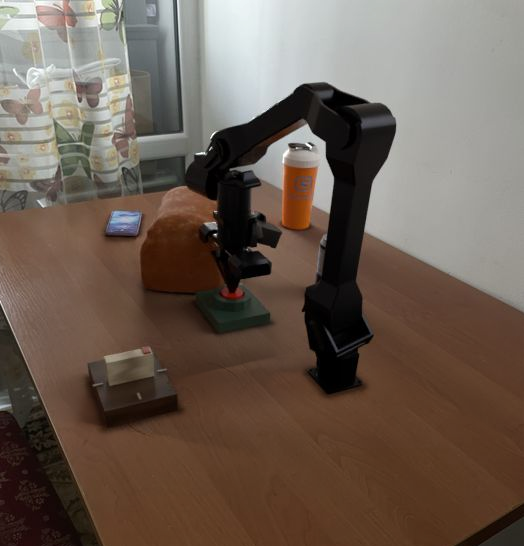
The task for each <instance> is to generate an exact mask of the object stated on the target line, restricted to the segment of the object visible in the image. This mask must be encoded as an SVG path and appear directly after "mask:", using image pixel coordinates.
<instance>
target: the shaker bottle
mask: <svg viewBox="0 0 524 546" xmlns="http://www.w3.org/2000/svg"><path fill="white" fill-rule="evenodd" d="M287 147H288V149H287V150H285V151H284V153H283V154H282V164H283V167H282V169H283V175H282V209H281V210H282V211H281V213H282V214H281V224H282V226H283V227H285V228H287V229H290V230H305V229H308V228H309V227H310V223H311V218H312V217H311V216H312V210H313V202H314V196H315V190H316V183H317V176H318V170H319V166H320V161H321V156H320V154H319V150H320V149H319V147H318V145H316V144H314V143H313V142H311V141H308V142H306V143H302V142H289V143H287Z"/></svg>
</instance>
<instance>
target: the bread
mask: <svg viewBox="0 0 524 546" xmlns="http://www.w3.org/2000/svg"><path fill="white" fill-rule="evenodd" d="M213 211H217V201H212V200H210V199H208V198H206V197H203V196H201V195H199V194H197V193H195V192H193V191H191V190H189V189H188V187H187V186H186V185H182V186H177V187H174V188H171V189H170V190H169V191H167V193H166V194H164V196H163V197H162V198H161V205H160V206H159V207H158V210H157V212H156V213H155V214H154V216H153V219H152V223H151V224H150V225H149V227H148V229H147V231H146V236H145V239H144V241H143V242H142V244H141V247H140V250H139V267H140V275H141V276H140V277H141V284H142V285H143V286H144V287H145V288H146V289H149V290H152V291H156V292H167V293H183V294H184V293H186V294H195V292H200V291H206V290H212V289H217V288H218V287H220V286H225V285H226V284H225V282H224V280H223V277H222V275H221V273H220V271H219V269H218V267H217V265H216V262H215V260H214V258H213V256H212V255H211V251H214V250H215V244H214V243H213V237H210V236H208V238H209V241H208V242H207V243H203V242H202V241H201V240H200V239H199V228H200V227H201V226H202V225H203V224H204V223H212V222H217V221H216V220H215V219H214V218H213Z"/></svg>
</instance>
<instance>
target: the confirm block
mask: <svg viewBox="0 0 524 546" xmlns="http://www.w3.org/2000/svg"><path fill="white" fill-rule="evenodd" d="M224 288H227V286H226V284H225V285H224V286H220V287H218V288H217V289H212V290H206V291H200V292H195V293H194V296H195V304H196V305H197V307H198V308H199V309H200V311H201V312H202V313H203V315H204V316H205V317H206V319H207V320H208V321H209V323H210V324H211V325H212V327H213V328H214V330H215V331H216V332H217V333H218V334H223V333H228V332H234V331H238V330H243V329H247V328H252V327H257V326H262V325H267V324H270V323H271V312H270V311H269V309H268V308H266V305H264V304H263V303H262V302H261V301H260V300H259V299H258V298H257V297H256V296H255V294H253V293H252V291H251V290H250V289H249V288H248V287H247V286H246V285H245V284H244V283H243V284H239V285H238V288H239V289H241V290H242V291H243V297H242V298H240V299H236V300H230V299H225V298H223V297H221V291H222V290H223V289H224Z"/></svg>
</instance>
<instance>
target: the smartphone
mask: <svg viewBox="0 0 524 546" xmlns="http://www.w3.org/2000/svg"><path fill="white" fill-rule="evenodd" d="M142 215H143V214H142V211H140V210H119V209H117V210H112V212H111V215H110V218H109V220H108V224H107V226H106V229H105V233H106V234H105V235H108V236H124V237H125V236H127V237H128V236H130V237H131V236H132V237H135V236H137V235H138V234H139V230H140V224H141V220H142Z"/></svg>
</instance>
